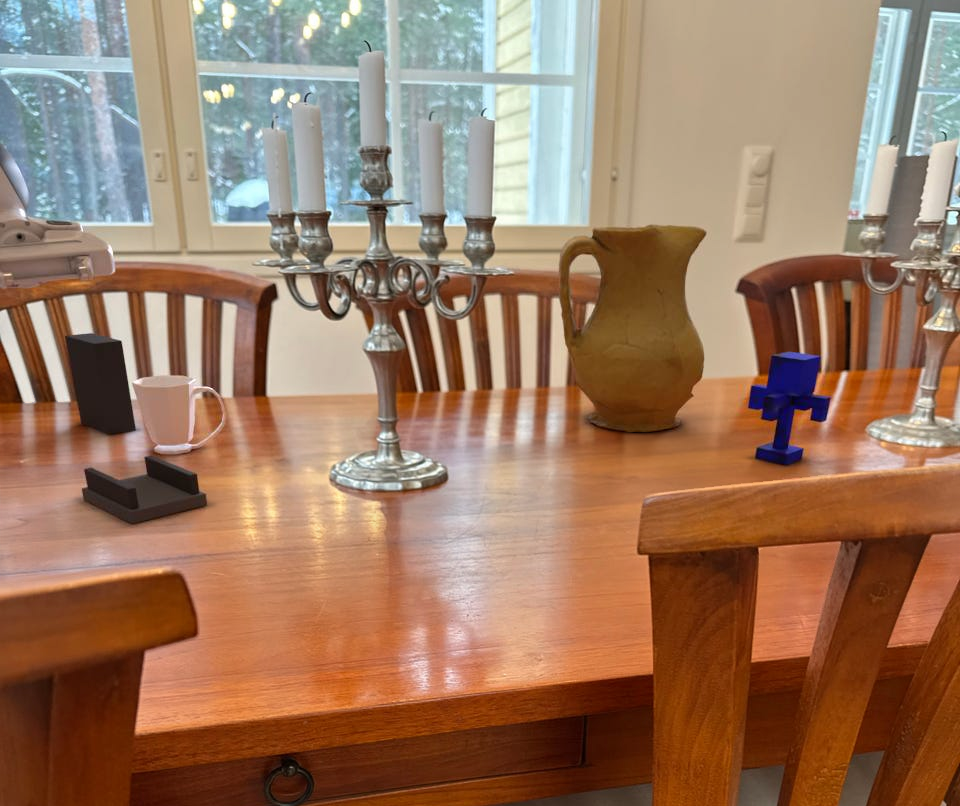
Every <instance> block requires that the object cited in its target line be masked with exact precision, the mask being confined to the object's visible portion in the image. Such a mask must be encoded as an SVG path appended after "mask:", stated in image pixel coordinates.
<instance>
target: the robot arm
mask: <svg viewBox="0 0 960 806" xmlns="http://www.w3.org/2000/svg"><path fill="white" fill-rule="evenodd" d="M20 170H21V169H20V168H19V166H18V165H17V163H16V161H15V159H14V157H13V156H12V155H11V153H10V152H9V150H8V149H7V148H6V146H5V145H4V144H3V143H2V142H1V141H0V288H1V289H2V290H8V289H9V290H10V289H15V288H18V289H31V288H37V287H38V286H41V285H43V284H45V283H48V282H53V281H63V280H73V279H74V280H75V279H77V280H79V281H80V282H87V281H93V280H94V277H103V276H104V277H105V276H111V275H113V274H115V273H116V263H115V257H114V253H113V249H112V246H111V245H110V244H109V243H108V242H106V240H104V239H102V238H101V237H100V236H98V235H96V234H94V233H93V232H90V231H86V230H83V226H82V224H81V223H79V222H78V221H77V222H76V221H67V220H51V219H50V220H49V219H47V220H46V219H43V218H37V217H32V216H28V215H26V213H28V211H29V206H30V192H29V189H28V187H27V186H28V185H27V183H26V181H25V179H24V176H23V174H22V172H21V171H20Z"/></svg>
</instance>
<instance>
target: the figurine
mask: <svg viewBox="0 0 960 806" xmlns="http://www.w3.org/2000/svg"><path fill="white" fill-rule="evenodd" d="M820 363H821V355H816V354H815V355H813V354H808V353H800V352H793V351H785V352H781V353H775V354H771V357H770V362H769V369H768V375H767V381H766V385H763V384H759V383H758V384H753V385H751V386H750V392H749V398H748V404H747V409H749V410H755V411H760V410H761V415H760V416H761V417H760V420H762V421H766V422H773V421H776V425H775V430H774V438H773V441H771V442H768V443H765V444H762V445H760V446H756V450H755V456H754V459H756V460H761V461H765V462H769V463H773V464H778V465H782V466H787V465H790V464H793V463H796V462H798V461H800V460H802V459H803V454H804V449H805V448H804V447H800V446H797V445H791V444H790V439H791V433H792V429H793V422H794V417H795V412H796V410H797V411H802V412H807V411H810V410H811V411H810V417H809V421H811V422H816V423H824V422H826V421H827V419H828V414H829V410H830V409H829V408H830V403H831V398H832V396H828V395H827V396H826V395H821V394H814V392H815V390H816V384H817V379H818V375H819V369H820Z"/></svg>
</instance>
